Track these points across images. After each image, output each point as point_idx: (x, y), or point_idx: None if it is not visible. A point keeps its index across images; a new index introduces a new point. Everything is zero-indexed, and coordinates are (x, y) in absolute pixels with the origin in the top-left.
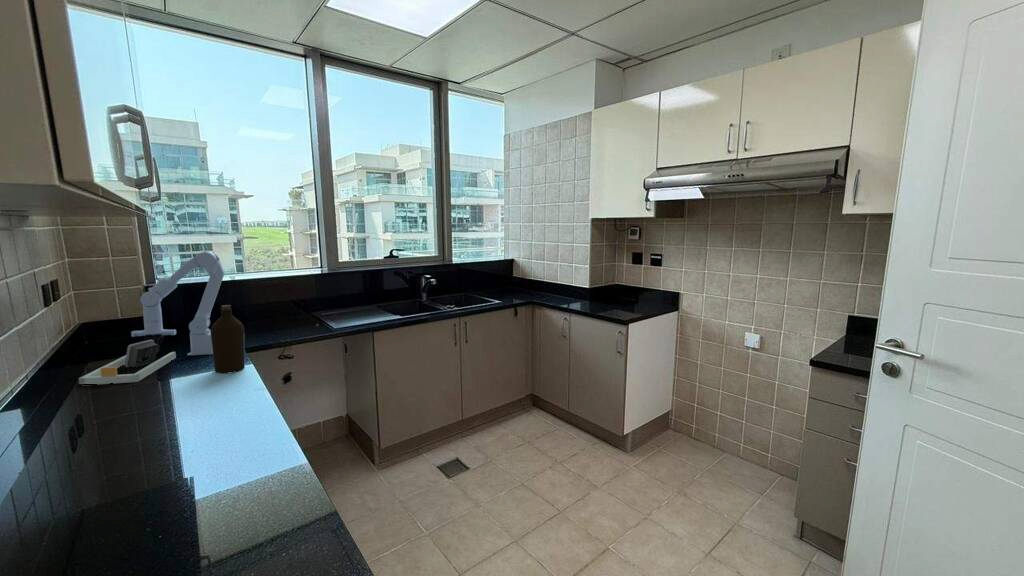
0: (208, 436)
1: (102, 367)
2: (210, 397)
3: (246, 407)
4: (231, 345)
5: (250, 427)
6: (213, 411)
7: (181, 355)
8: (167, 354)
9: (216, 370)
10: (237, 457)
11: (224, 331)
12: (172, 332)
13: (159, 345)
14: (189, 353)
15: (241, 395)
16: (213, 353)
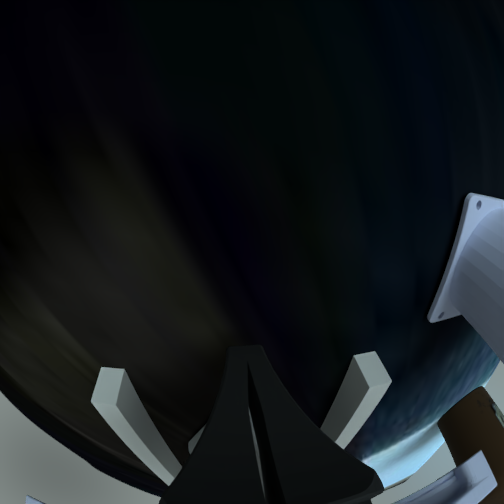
0: (384, 482)
1: (170, 483)
2: (401, 464)
3: (420, 460)
4: None
5: (409, 470)
6: (395, 472)
7: (401, 304)
8: (353, 417)
9: (439, 428)
10: (393, 481)
11: None
12: (451, 496)
13: (283, 397)
14: (442, 302)
15: (427, 451)
16: (453, 457)
